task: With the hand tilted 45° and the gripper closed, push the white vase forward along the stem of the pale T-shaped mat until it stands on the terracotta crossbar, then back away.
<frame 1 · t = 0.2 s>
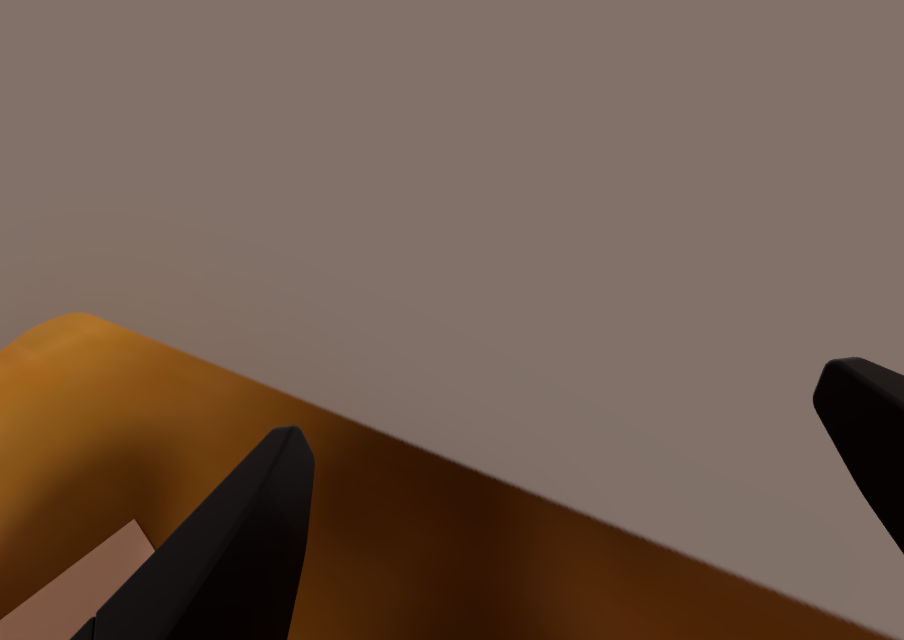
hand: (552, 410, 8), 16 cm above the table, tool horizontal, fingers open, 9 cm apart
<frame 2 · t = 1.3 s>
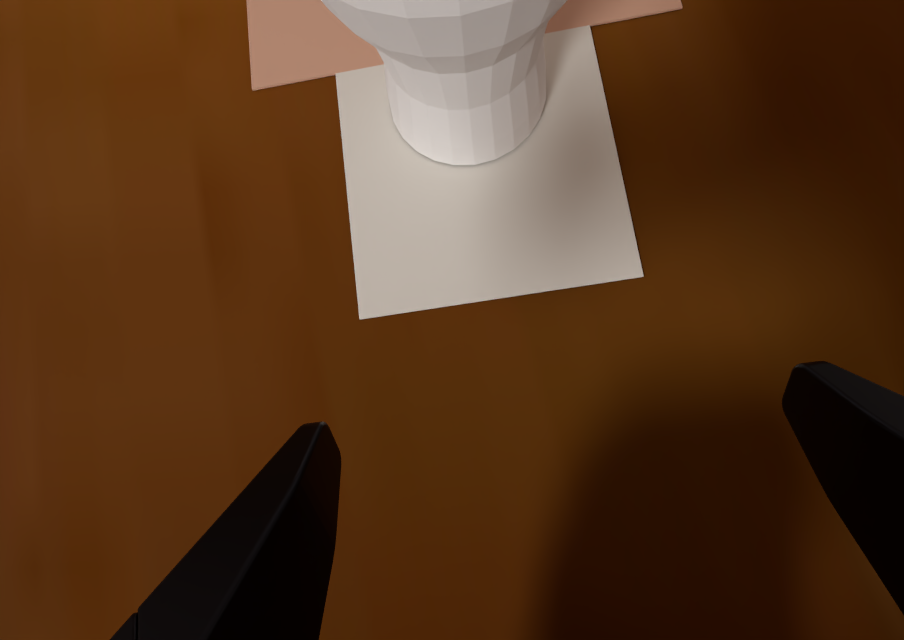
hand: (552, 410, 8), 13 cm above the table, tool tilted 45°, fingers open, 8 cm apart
white vase: (467, 96, 23), resting on t mat
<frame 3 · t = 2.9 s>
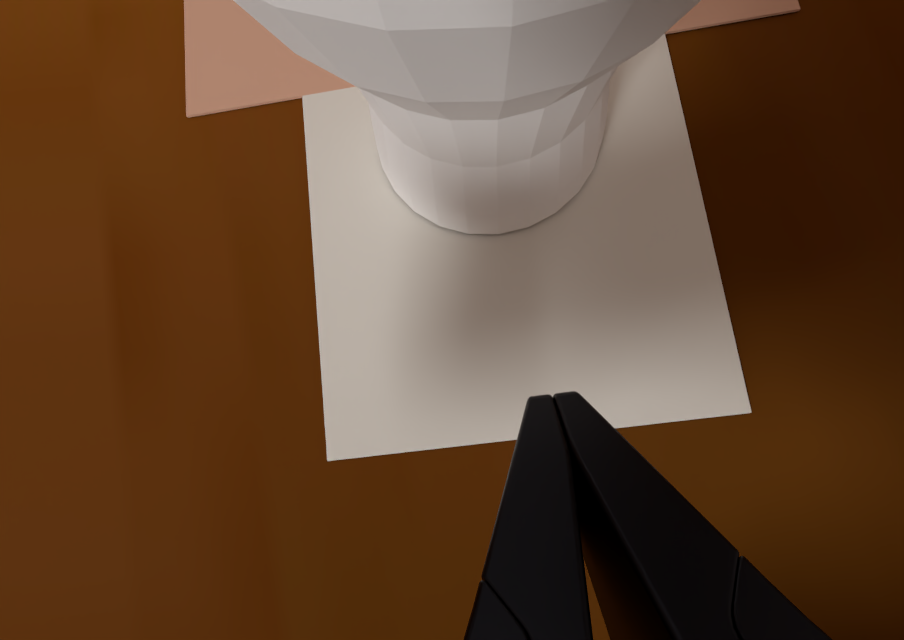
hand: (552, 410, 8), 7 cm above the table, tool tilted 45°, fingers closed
white vase: (487, 132, 16), resting on t mat
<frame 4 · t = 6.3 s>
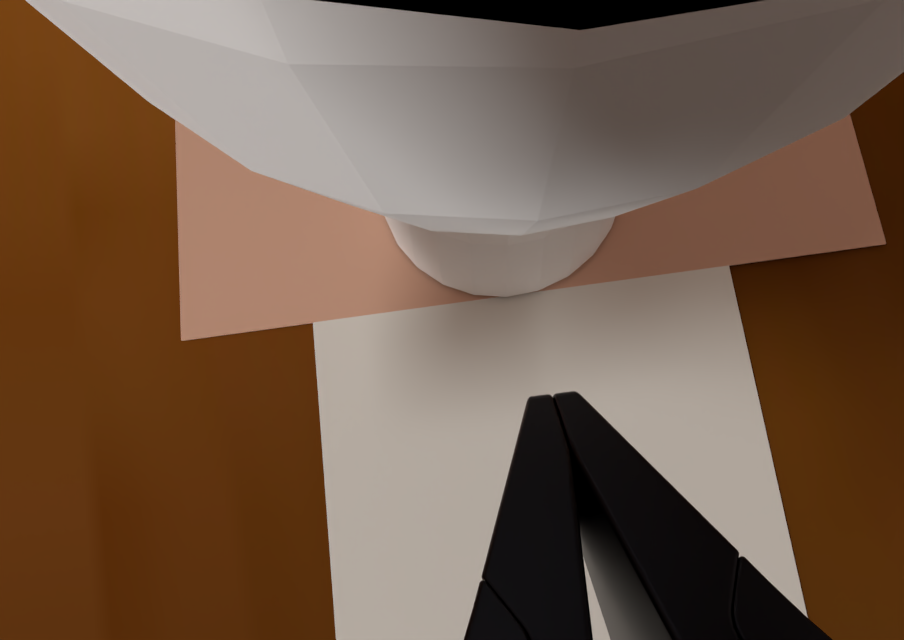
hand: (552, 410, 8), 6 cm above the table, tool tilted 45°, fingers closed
t mat: (496, 177, 15), on the table
white vase: (498, 183, 15), resting on t mat
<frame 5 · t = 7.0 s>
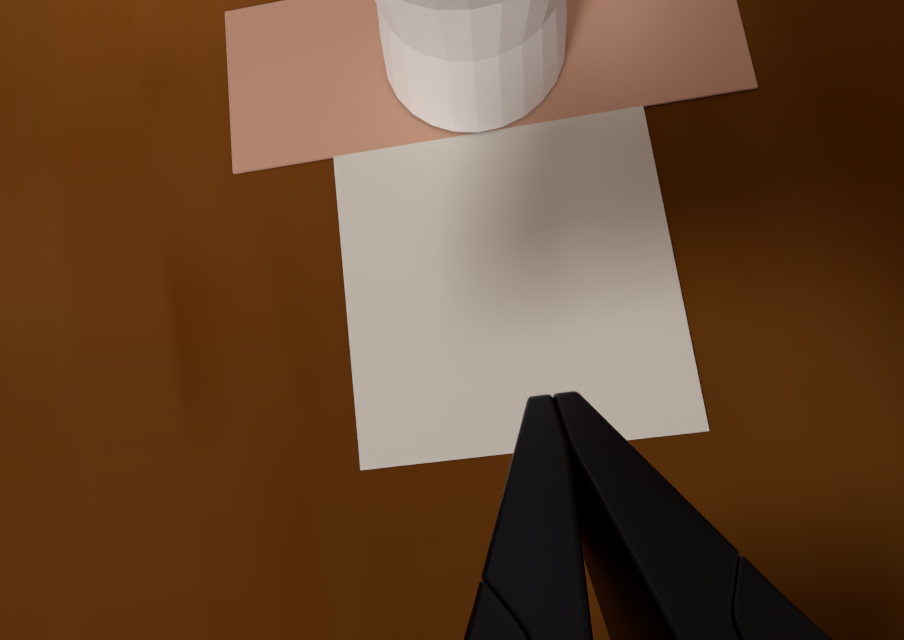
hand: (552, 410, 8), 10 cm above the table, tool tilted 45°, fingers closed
t mat: (472, 48, 20), on the table
white vase: (473, 53, 20), resting on t mat
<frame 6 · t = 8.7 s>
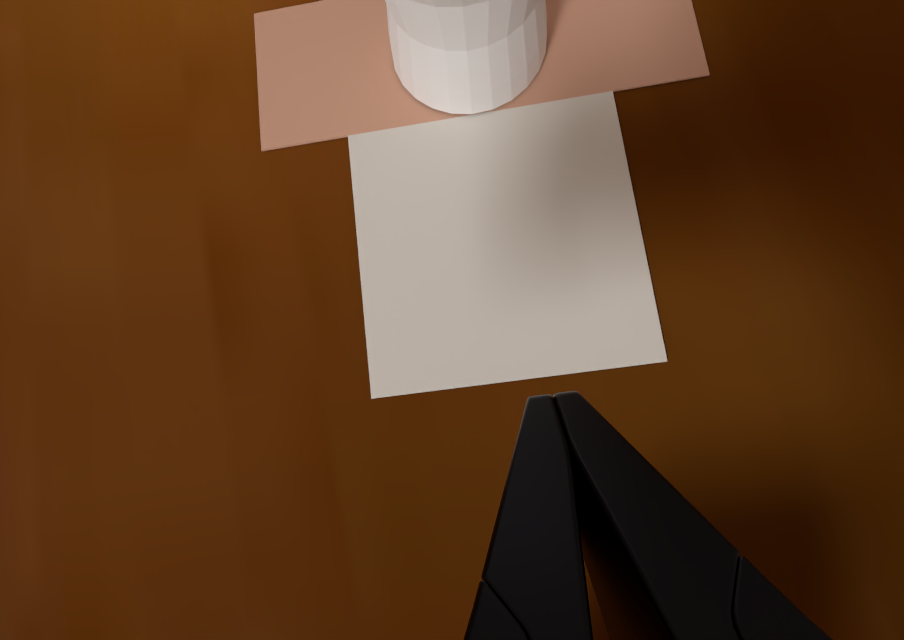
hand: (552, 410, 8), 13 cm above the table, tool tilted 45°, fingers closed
t mat: (467, 43, 24), on the table
white vase: (468, 48, 24), resting on t mat
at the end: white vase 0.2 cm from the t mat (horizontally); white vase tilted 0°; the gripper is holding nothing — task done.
